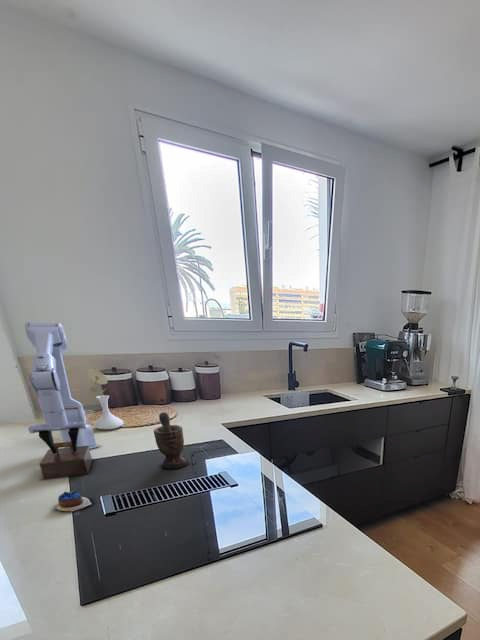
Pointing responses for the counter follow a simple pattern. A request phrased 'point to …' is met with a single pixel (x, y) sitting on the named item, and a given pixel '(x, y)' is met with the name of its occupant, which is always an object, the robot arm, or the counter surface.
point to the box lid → (64, 454)
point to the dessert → (72, 501)
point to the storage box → (67, 468)
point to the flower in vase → (103, 404)
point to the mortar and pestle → (170, 442)
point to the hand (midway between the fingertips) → (65, 451)
